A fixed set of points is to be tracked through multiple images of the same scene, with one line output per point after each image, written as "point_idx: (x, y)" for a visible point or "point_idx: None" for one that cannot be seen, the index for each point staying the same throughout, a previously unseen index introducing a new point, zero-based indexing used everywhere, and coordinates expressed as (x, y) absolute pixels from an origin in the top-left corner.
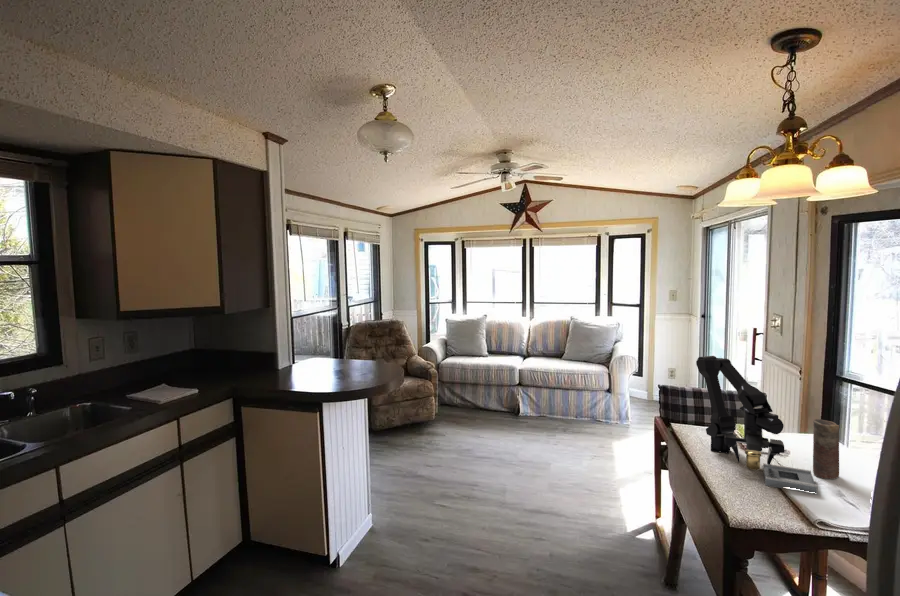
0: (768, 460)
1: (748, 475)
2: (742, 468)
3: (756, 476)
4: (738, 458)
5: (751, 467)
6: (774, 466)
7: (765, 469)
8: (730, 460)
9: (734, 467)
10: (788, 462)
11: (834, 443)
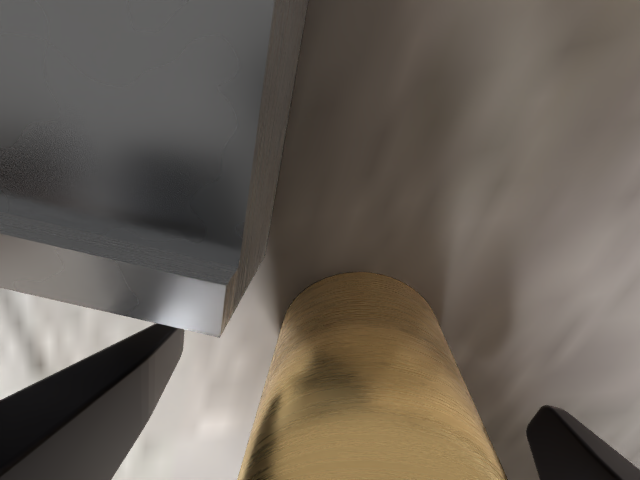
0: (72, 407)
1: (569, 34)
2: (518, 296)
3: (434, 20)
4: (630, 475)
5: (411, 300)
6: (15, 231)
7: (232, 52)
8: None
9: (622, 310)
10: None
11: None
